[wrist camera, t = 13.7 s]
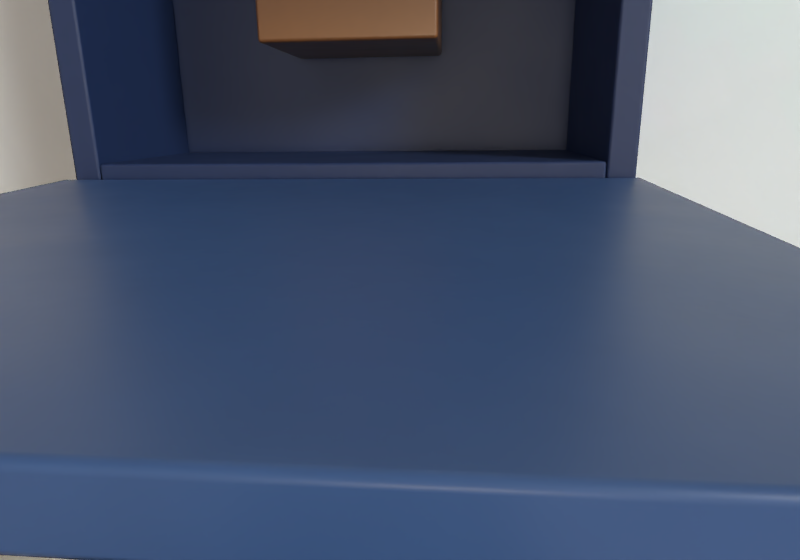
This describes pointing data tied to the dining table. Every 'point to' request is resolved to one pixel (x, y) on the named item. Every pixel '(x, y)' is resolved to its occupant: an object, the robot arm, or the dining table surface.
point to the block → (351, 27)
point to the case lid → (394, 372)
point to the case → (352, 94)
